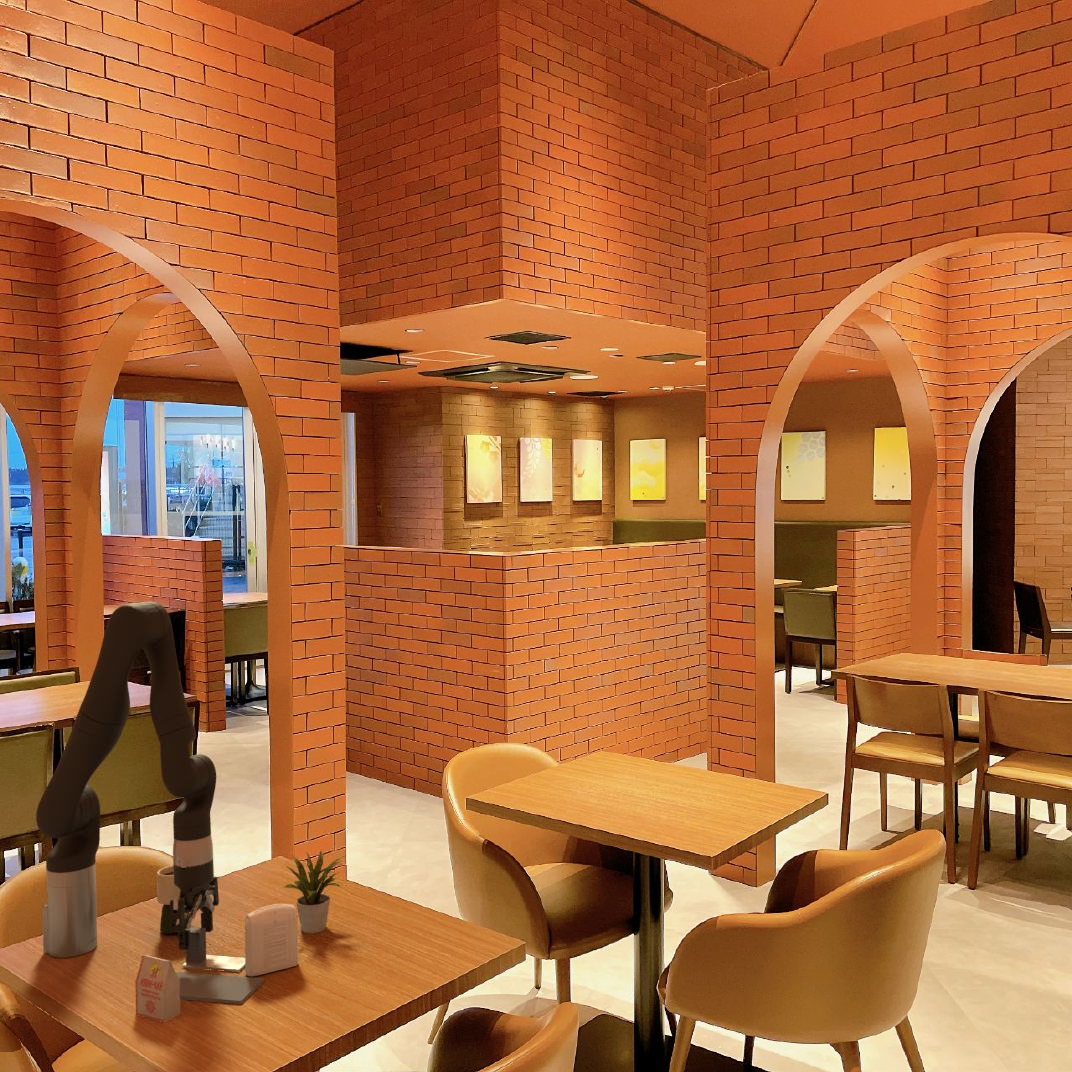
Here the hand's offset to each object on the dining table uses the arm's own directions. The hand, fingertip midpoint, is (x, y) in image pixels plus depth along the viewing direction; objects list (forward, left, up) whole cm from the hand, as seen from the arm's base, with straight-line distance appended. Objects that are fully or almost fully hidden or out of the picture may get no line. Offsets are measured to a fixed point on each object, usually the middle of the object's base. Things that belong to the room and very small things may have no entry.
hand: (196, 940), depth 200 cm
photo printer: (+16, 0, -5) cm, 17 cm away
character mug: (-13, +14, -5) cm, 20 cm away
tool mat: (+8, -10, -5) cm, 14 cm away
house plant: (+17, +19, -5) cm, 26 cm away
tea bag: (+4, -20, -5) cm, 21 cm away
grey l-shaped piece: (+4, 0, -5) cm, 6 cm away
